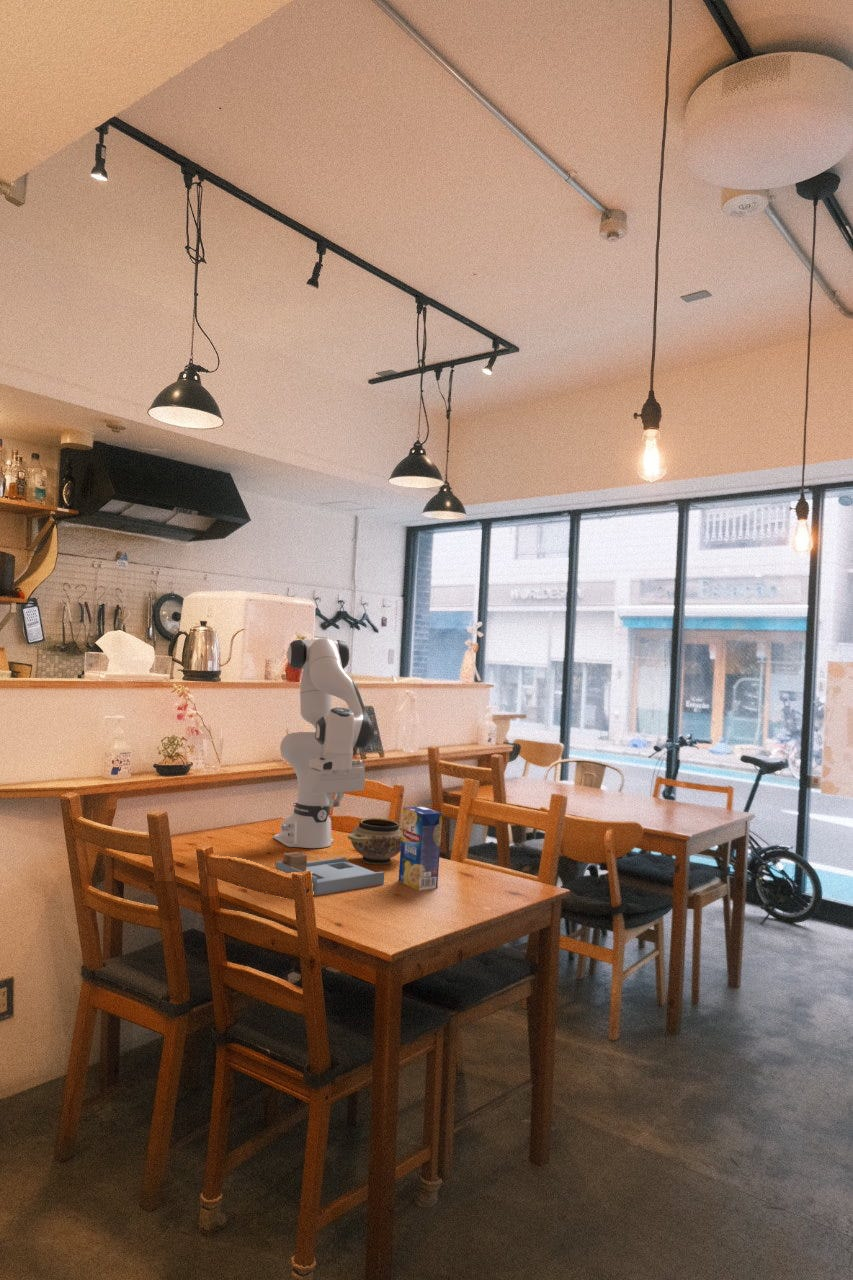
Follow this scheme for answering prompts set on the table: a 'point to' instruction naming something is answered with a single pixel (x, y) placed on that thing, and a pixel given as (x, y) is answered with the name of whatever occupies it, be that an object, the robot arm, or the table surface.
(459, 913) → the table surface
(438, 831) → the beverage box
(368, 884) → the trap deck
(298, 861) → the block
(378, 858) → the ceramic bowl
